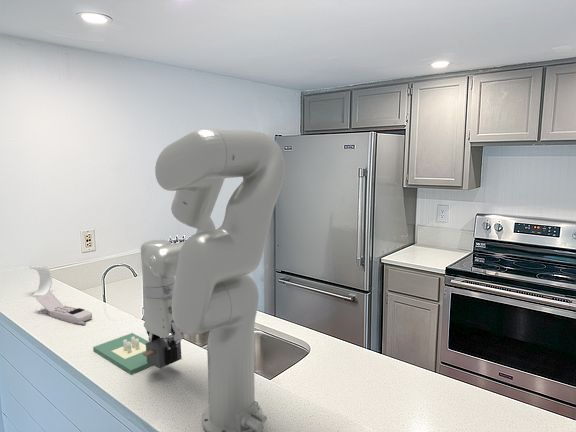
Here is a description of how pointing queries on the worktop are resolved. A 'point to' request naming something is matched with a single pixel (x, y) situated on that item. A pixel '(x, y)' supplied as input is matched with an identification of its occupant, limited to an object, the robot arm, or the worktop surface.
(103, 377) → the worktop surface
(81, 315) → the mobile phone
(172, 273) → the robot arm
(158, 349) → the block
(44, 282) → the headphone stand
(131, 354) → the header board
